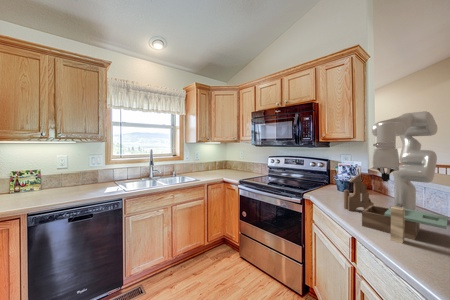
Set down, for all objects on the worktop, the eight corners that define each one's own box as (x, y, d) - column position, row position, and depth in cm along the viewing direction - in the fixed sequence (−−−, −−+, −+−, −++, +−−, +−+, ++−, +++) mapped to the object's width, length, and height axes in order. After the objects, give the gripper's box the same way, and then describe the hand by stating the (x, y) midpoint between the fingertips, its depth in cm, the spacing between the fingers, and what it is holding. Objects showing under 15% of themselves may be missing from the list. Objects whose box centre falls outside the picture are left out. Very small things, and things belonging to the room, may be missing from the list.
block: (392, 239, 89) (393, 205, 89) (404, 243, 86) (404, 207, 86) (390, 242, 87) (390, 207, 86) (402, 246, 84) (402, 209, 83)
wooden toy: (369, 209, 130) (369, 172, 129) (373, 213, 123) (374, 174, 123) (343, 207, 134) (343, 172, 134) (346, 210, 128) (346, 173, 127)
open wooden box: (370, 220, 112) (370, 205, 112) (419, 232, 96) (419, 214, 96) (361, 228, 102) (362, 211, 101) (414, 242, 86) (415, 223, 86)
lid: (391, 208, 104) (391, 200, 104) (447, 219, 89) (448, 210, 89) (384, 215, 94) (384, 207, 94) (446, 229, 79) (446, 219, 79)
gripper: (366, 146, 103) (366, 180, 103) (404, 146, 91) (403, 184, 92) (370, 145, 107) (370, 178, 108) (406, 145, 96) (406, 182, 96)
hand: (385, 181), depth 100 cm, fingers closed
